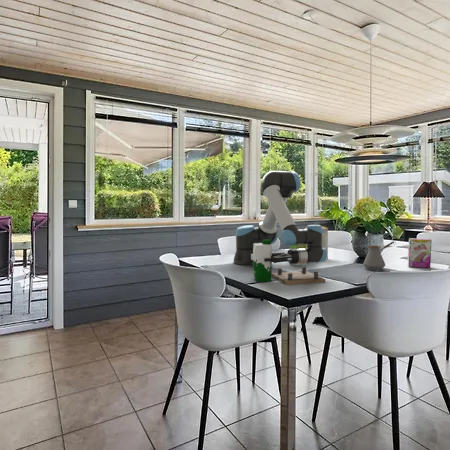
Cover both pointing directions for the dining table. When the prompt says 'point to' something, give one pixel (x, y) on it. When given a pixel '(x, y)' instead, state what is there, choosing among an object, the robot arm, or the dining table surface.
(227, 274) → the dining table surface
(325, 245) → the cracker box
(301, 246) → the tea box
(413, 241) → the candy bar box
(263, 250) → the soya milk
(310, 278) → the peg board
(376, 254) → the coffee pot
